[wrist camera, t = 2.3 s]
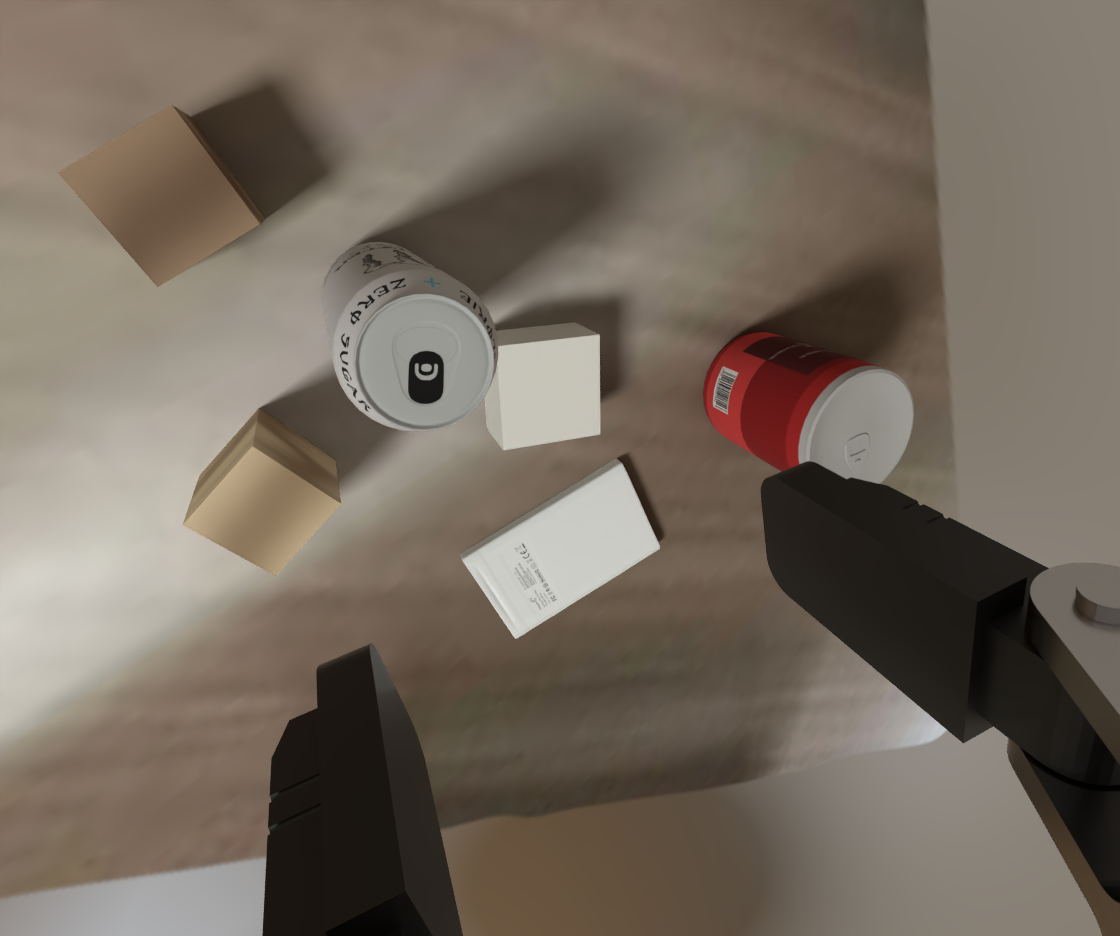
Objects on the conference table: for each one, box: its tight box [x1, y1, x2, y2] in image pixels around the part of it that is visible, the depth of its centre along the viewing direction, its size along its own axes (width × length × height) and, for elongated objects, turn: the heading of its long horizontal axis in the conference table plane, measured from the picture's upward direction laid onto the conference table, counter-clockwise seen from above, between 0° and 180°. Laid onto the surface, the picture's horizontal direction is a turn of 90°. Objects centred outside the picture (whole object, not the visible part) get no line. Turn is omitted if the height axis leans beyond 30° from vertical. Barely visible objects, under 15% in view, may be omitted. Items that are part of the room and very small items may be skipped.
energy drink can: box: [322, 242, 498, 432], centre depth 29 cm, size 6×6×15 cm
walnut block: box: [58, 105, 265, 287], centre depth 28 cm, size 5×5×5 cm
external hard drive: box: [460, 458, 660, 639], centre depth 45 cm, size 2×8×12 cm
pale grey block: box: [485, 322, 600, 450], centre depth 38 cm, size 6×6×4 cm
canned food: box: [703, 332, 914, 484], centre depth 41 cm, size 8×8×11 cm
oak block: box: [183, 408, 341, 576], centre depth 34 cm, size 5×5×6 cm
